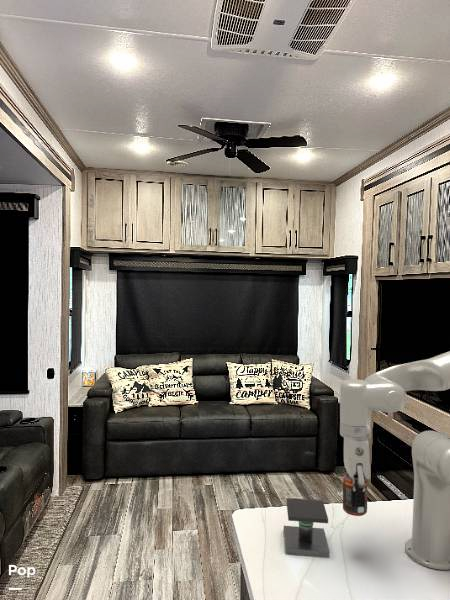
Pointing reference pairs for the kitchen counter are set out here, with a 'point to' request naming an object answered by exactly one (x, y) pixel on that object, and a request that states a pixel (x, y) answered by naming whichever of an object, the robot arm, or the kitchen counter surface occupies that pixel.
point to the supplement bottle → (347, 497)
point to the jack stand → (306, 528)
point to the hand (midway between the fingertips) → (355, 499)
